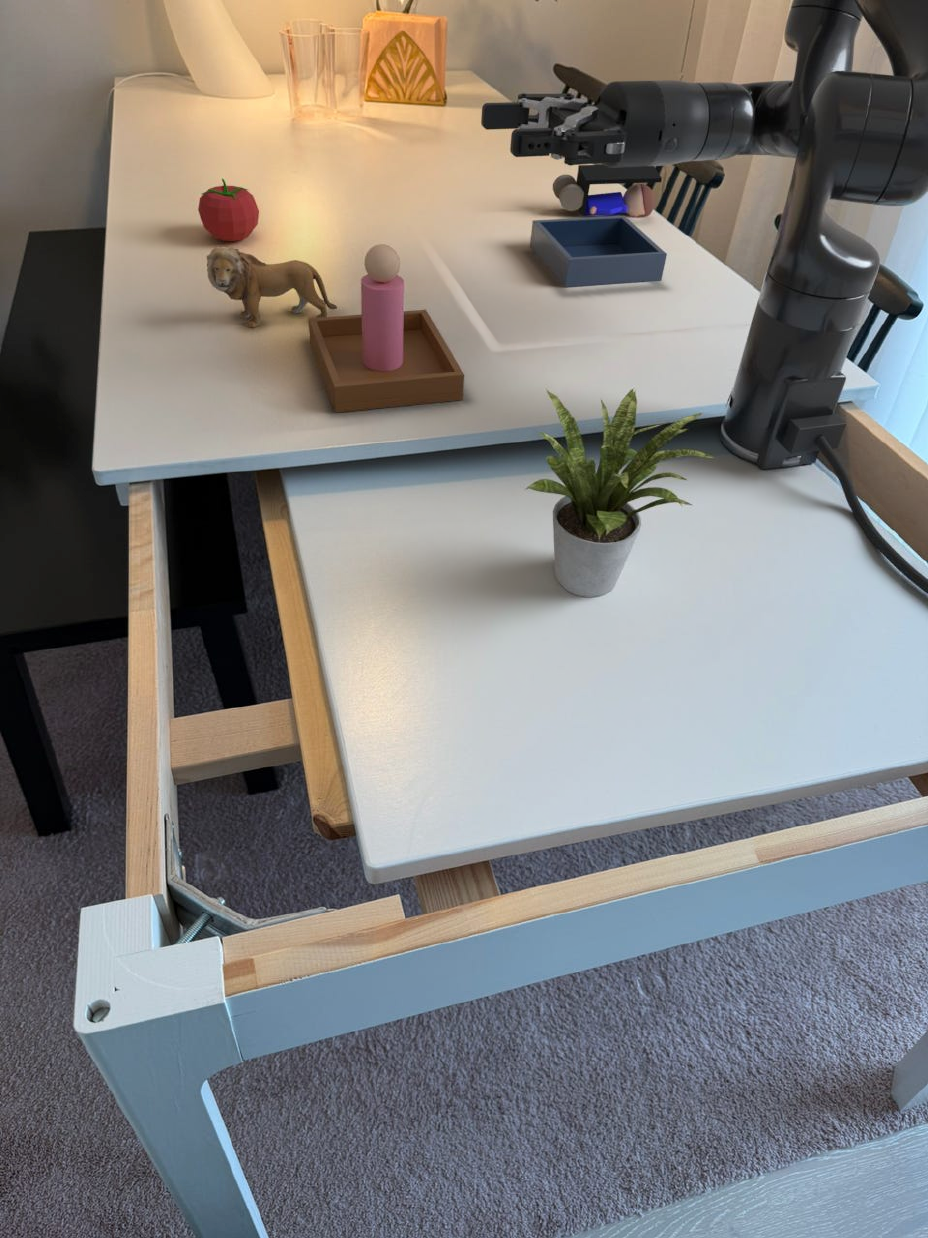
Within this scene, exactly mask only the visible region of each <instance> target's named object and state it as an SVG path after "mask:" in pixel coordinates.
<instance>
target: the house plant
mask: <svg viewBox="0 0 928 1238" xmlns="http://www.w3.org/2000/svg"><path fill="white" fill-rule="evenodd" d="M636 390H637V389H634V388H632V389H631V390H629V391H628V392H627V393H626V394H625V396H624V397H623V398H622V400H621V401H620V403H619V405H618V407H617V409H616V410H615V412H614V415H613V417H612V420H611V421H610V418H609V413H608V409H607V407H606V404H605V403H604V401H603V400H602V398H600V403H601V409H602V410H601V411H602V419H603V420H602V421H603V441H602V444H601V446H600V452H599V453H600V454H599V455H600V456H599V463H598V466H597V464H596V461H595V459H594V458H593V457H591V458H588V460H587V456H586V450H585V445H584V442H583V437H582V435H581V432H580V429H579V426H578V422H577V421H576V418H575V417H574V416H573V414H572V413H571V412H570V411H569V410H568V409H567V408H566V407H565V405H564V404H563V402H562V401H561V400H560V398H559V397H558V396H557V395H555V393H552V392H550V391H549V390H548V389H546V392H547V395H548V397H549V398H550V400H551V403H552V405H553V407H554V409H555V411H556V413H557V414H556V415H557V416H558V419H559V422H560V425H561V428H562V430H563V433H564V437H565V442H566V446H567V449H565V448H564V447H563V446H562V445H561V444H560V443H559V442H558V441H557V440H556V439H555V438H554V437H552V436H551V435H549V434H547V433H546V432H542V431H540V430H537V432H538V433H539V434H540V435H541V436H542V437H543V438H544V439H545V440H546V441H548V442H549V443H550V445H551V446H552V447H553V449H554V451H555V452H556V453H557V454H558V455H559V456H555V455H546V464H547V465H548V466H549V468H550V469H551V471H552V472H553V473H554V474H555V475H556V477H557V478H558V479H559V480H560V481H561V482H562V483H560V482H558V481H555V480H553V479H549V478H542V479H538V480H536V481H534V482H532V483H531V484H530V485H528V486H527V487H526V488H525V489H524V491H526V490H528V489H530V490H532V491H534V492H535V491H536V492H540V493H547V494H555V495H560V496H563V497H560V499H559V500H558V501H557V502H556V503H555V505H554V507H553V509H552V527H553V528H552V529H553V553H554V555H553V556H554V557H553V559H554V577H555V579H556V581H557V582H558V583H559V585H560V586H561V587H562V588H563V589H564V590H566V591H567V592H568V593H571V594H573V595H575V596H579V597H584V598H595V597H600V596H604V595H607V594H608V593H610V592H612V590H613V589H614V588H615V587H616V586H617V585H616V584H617V583H618V580H619V578H620V576H621V573H622V571H623V569H624V567H625V565H626V562H627V561H628V558H629V555H630V554H631V551H632V549H633V547H634V545H635V542H636V540H637V538H638V536H639V533H640V531H641V528H642V525H643V524H642V519H641V516H640V514H639V513H640V512H644V511H645V510H648V509H650V508H654V507H656V506H660V505H666V504H670V503H678V504H679V505H680V506H681V507H683V505H687V506H693V503H690V502H688V501H686V500H684V499H681V498H678V496H677V495H676V494H675V493H674V492H672V491H671V490H669V489H667V488H664V487H659V486H658V487H649V486H648V487H645V488H641V487H643V486H644V485H646V484H648V483H651V482H652V481H656V480H659V479H664V478H674V479H678V480H682V481H688V482H689V480H688V479H687V478H685V477H683V476H682V475H680V474H677V473H673V472H669V471H668V472H667V471H666V472H660V473H656V474H653V473H654V472H655V471H656V469H657V468H658V467H660V466H659V463H661V462H663V461H667V460H670V459H674V458H680V457H684V456H685V457H686V456H695V457H700V458H701V457H702V458H708V459H709V458H711V459H716V457H715V456H713V455H712V454H708V453H705V452H703V451H700V450H697V449H696V450H695V449H690V448H677V449H666V450H660V449H661V448H662V447H664V446H665V445H666V444H668V443H669V442H670V441H671V440H672V439H674V438H675V437H676V436H677V435H680V434H681V433H685V432H686V431H687V430H688V428H683V427H684V426H686V425H687V424H688V423H690V422H692V421H695V420H696V419H697V418H699V417H700V416H701V415H702V414H703V412H700V413H695V414H691V415H688V416H685V417H683V418H681V419H679V420H676V421H674V422H672V423H671V424H669V425H668V426H666V427H665V428H664V429H662V430H661V431H659V432H658V433H657V434H656V435H654V436H653V437H652V438H651V439H649V440H648V441H647V442H646V443H645V444H643V446H642V447H640V449H639V450H638V451H636V450H634V449H633V448H629V447H630V444H631V441H632V438H633V436H634V435H638V434H639V433H642V432H645V431H647V430H648V431H649V430H651V429H654V428H658V427H661V426H664V425H666V424H668V423H669V421H667V422H664V423H660V424H656V425H651V426H646V427H643V428H640V429H637V430H635V427H636V419H637V410H638V409H637V408H638V400H637V395H636ZM560 457H561V458H560ZM628 462H629V463H628ZM627 463H628V464H627ZM626 464H627V465H626ZM625 465H626V466H625ZM596 466H597V470H596ZM624 466H625V467H624ZM622 469H623V470H622ZM621 470H622V471H621ZM620 471H621V472H620ZM652 474H653V475H652ZM650 475H651V476H650ZM649 476H650V477H649ZM647 477H648V478H647ZM639 483H640V484H639ZM646 497H654V498H659V499H656V500H654V501H652V502H651V501H650V502H649V503H646V504H644V505H642V506H641V507H639V508H637V509H636V508H635V507H634V506H633V505H632V504H631V503H629V502H632V501H635V500H637V499H640V498H646Z"/></svg>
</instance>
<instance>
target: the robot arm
mask: <svg viewBox="0 0 928 1238" xmlns="http://www.w3.org/2000/svg"><path fill="white" fill-rule="evenodd" d="M863 19H864V20H865V22H866V23H867V24H868V26H869V27H870V29H871V30H872V32H873V33H874V36H875V37H876V38H877V39H878V41H879V43H880V44H881V46H882V48H883V49H884V51H885V53H886V56H887V58H888V61H889V63H890V67H891V71H892V75H891V74H883V73H874V72H864V71H855V70H854V71H853V67H854V66H853V65H854V55H855V42H856V37H857V34H858V31H859V29H860V25H861V22H862V21H863ZM783 36H784V38H783V39H784V42H785V44H786V46H787V47H788V48H790V49H791V50H792V51H794V52H795V53H796V61H795V70H794V75H793V79H792V80H771V81H769V80H768V81H759V82H758V81H756V82H747V83H741V84H740V83H739V84H738V83H735V82H734V83H733V82H723V81H721V82H720V81H719V82H718V81H712V82H711V81H710V82H709V81H707V82H688V81H682V80H675V79H673V80H672V79H671V80H670V79H668V80H667V79H666V80H622V81H621V80H619V81H611V82H609V83H607V84H606V85H605V86H604V87H603V88H602V90H601V91H600V93H599V96H598V98H597V99H596V101H595V102H594V103H593V104H590V103H588V100H587V99H583V98H578V97H575V94H574V93H571V92H566V93H527V92H526V93H525V92H522V93H518V94H517V101H508V102H507V101H506V102H485V103H484V104H483V105H482V107H481V121H480V123H481V126H482V128H484V129H485V130H487V131H489V130H512V131H511V135H510V147H509V151H510V153H511V154H512V155H513V156H514V157H515V158H528V157H530V158H531V157H550V158H552V159H554V160H563V163H564V164H565V165H567V166H579V165H597V164H601V165H604V166H606V167H608V168H622V167H643V166H654V167H661V166H671V165H672V166H673V165H677V164H681V163H688V162H709V161H720V160H727V159H731V158H733V157H736V156H769V157H771V156H772V157H780V158H791V159H795V160H794V165H793V169H792V173H791V179H790V183H789V187H788V191H787V195H786V200H785V203H784V207H783V210H782V214H781V217H780V222H779V225H778V228H777V233H776V235H775V236H776V237H775V239H774V243H773V247H772V250H771V254H770V257H769V260H768V263H767V268H766V270H765V275H764V278H763V281H762V285H761V288H760V292H759V296H758V299H757V301H756V306H755V309H754V311H753V312H754V313H753V316H752V319H751V323H750V327H749V331H748V333H747V336H746V337H747V338H746V341H745V344H744V348H743V351H742V355H741V358H740V362H739V366H738V369H737V373H736V376H735V380H734V383H733V386H732V389H731V390H730V394H729V395H728V399H727V401H726V404H725V408H724V409H726V408H727V409H726V413H725V416H724V418H723V420H722V423H721V426H720V429H719V437H720V441H721V442H722V444H723V445H724V446H725V448H727V449H728V450H729V451H730V452H732V454H734V455H736V456H738V457H740V458H742V459H744V460H745V461H749V462H752V463H754V464H756V465H757V466H758V467H759V468H760V469H762V470H769V469H770V470H771V469H778V468H786V467H792V466H793V467H794V466H801V465H808V464H809V465H810V464H815V463H816V462H817V459H818V456H819V454H820V452H821V454H822V455H823V457H824V458H825V459H826V461H827V462H828V464H829V466H830V467H831V468H832V471H833V472H834V474H835V475H836V477H837V479H838V481H839V484H840V486H841V488H842V491H843V495H844V498H845V499H846V502H847V504H848V507H849V509H850V510H851V512H852V514H853V516H854V518H855V520H856V521H857V522H858V524H859V525H860V526H859V527H861V529H862V531H863V532H864V533H865V536H866V537H867V538H868V539H869V541H870V542H871V543H872V545H874V547H875V548H876V549H877V550H878V552H880V553H881V554H882V555H883V556H884V558H886V559H887V561H889V562H890V564H891V565H893V566H894V567H895V568H896V569H897V570H898V572H900V573H901V574H902V575H903V576H904V577H905V578H907V579H908V580H909V581H910V582H912V583H913V584H914V585H915V586H916V587H918V588H919V589H921V590H922V591H923V592H924V593H925V594H927V595H928V578H927V577H926V576H925V575H923V573H921V572H920V571H918V570H917V568H915V567H914V566H913V565H911V563H909V562H908V561H907V560H906V559H905V558H904V557H902V555H901V554H899V553H898V551H897V550H896V549H894V547H893V546H892V545H891V543H889V542H888V541H887V540H886V539H885V537H883V536H882V535H881V533H880V532H879V531H878V530H877V528H876V527H875V526H874V524H873V523H872V521H871V519H870V518H869V516H868V514H867V513H866V511H865V509H864V508H863V505H862V504H861V502H860V500H859V498H858V496H857V493H856V491H855V487H854V485H853V481H852V480H851V479H852V478H851V477H850V475H849V473H848V471H847V469H846V467H845V466H844V464H843V462H842V461H841V458H839V456H838V455H837V453H836V452H835V450H834V449H838V447H839V445H840V443H841V440H842V437H843V435H844V433H845V429H846V427H847V422H846V421H845V420H844V419H842V418H841V416H840V415H838V414H837V413H836V412H835V411H836V408H837V405H838V403H839V400H840V397H841V394H842V392H843V390H844V386H845V384H846V381H847V377H846V375H845V374H844V373H843V372H842V370H843V367H844V364H845V362H846V359H847V356H848V354H849V351H850V348H851V346H852V343H853V340H854V337H855V335H856V332H857V329H858V326H859V324H860V321H861V318H862V316H863V312H864V310H865V307H866V305H867V302H868V300H869V296H870V293H871V291H872V289H873V286H874V283H875V280H876V278H877V275H878V273H879V269H880V262H881V257H880V255H879V252H878V250H877V249H876V248H875V246H873V245H872V244H871V243H870V242H868V241H867V240H866V239H864V238H862V237H861V236H860V235H857V234H856V233H853V232H852V231H850V230H848V229H846V228H845V227H843V226H842V225H840V224H839V223H838V222H836V221H835V220H834V218H832V217H831V215H829V214H828V213H827V211H826V206H827V204H828V202H829V201H831V200H835V201H842V202H849V203H856V204H857V203H858V204H864V205H865V204H866V205H873V206H882V207H902V206H903V207H905V206H910V205H913V204H915V203H916V202H918V201H919V200H921V199H922V198H924V196H925V195H926V194H927V193H928V0H792V2H791V5H790V10H789V11H788V15H787V18H786V23H785V27H784V33H783ZM530 110H537V111H538V112H537V113H536V114H530ZM549 124H550V125H549Z"/></svg>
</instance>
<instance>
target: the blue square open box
mask: <svg viewBox="0 0 928 1238" xmlns="http://www.w3.org/2000/svg"><path fill="white" fill-rule="evenodd" d="M529 248H530V249H531V250H532V251H533V252H534V254H535V255H536V256H537V257H538V258H539V260H541V262H542V263H543V264H544V265H545V266H546V267H547V269H548V270H549V272H551V273H552V274H553V275H554V277H555V278H556V279H557V280H558V281H559V282H560V284H561V285H562V286H563V288H564V289H565V288H566V289H567V288H583V287H594V286H595V287H596V286H611V285H621V284H638V283H650V282H651V283H652V282H662V279H663V275H664V271H665V265H666V261H667V256H668V254H667V252H666V251H664V249H662V248H661V247H660V246H659V245H658V244H657V243H656V242H654V241H653V240H652V239H651V238H650V237H649V236H648V235H647V234H646V233H644V232H643V231H642V230H641V229H640V228H639V227H638V226H637V225H636V224H635V223H633V222H632V221H631V220H630V219H629V218H627V216H625V215H606V216H593V217H592V216H590V217H572V218H554V219H553V218H552V219H538V220H537V219H535V220H532V223H531V233H530V242H529Z"/></svg>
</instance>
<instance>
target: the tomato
mask: <svg viewBox="0 0 928 1238" xmlns="http://www.w3.org/2000/svg"><path fill="white" fill-rule="evenodd" d="M221 181H222V183H223V184H222V185H219V186H214V187H210V188H208V189H207V190H206V191H204V192H202V193H201V196H200V197H199V202H198V203H199V204H198V207H197V208H198V209H197V210H198V213H199V217H200V220H201V223H202V227H203V228H204V229H205V230H206V231H207V232H208V233H209V234H210V235H211V236H212V237H214V238H216V239H217V240H221V241H229V242H230V241H232V242H235V241H241V240H244V239H246V238H248V237H249V236H251V234H252V233H253V232H254V230H255V229H256V228H257V226H258V225H259V218H260V210H259V207H258V203H257V202H256V199H255V197H254V195H253V194H252V193H251V192H250V191H249V189H248V188H245V187H242V186H236V185H227V183H226V181H225V179H224V178H222V179H221Z"/></svg>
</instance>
